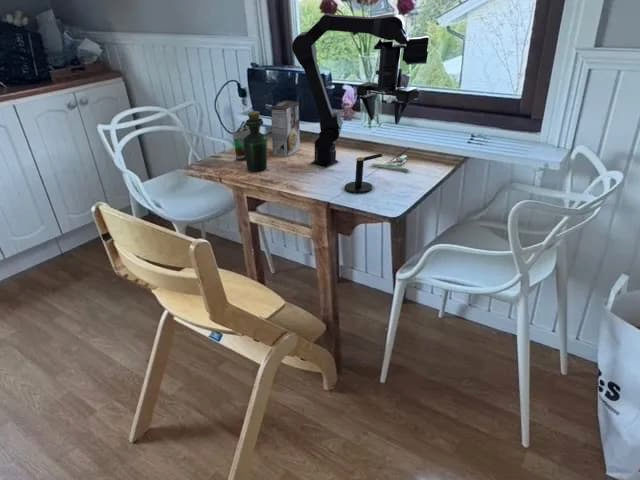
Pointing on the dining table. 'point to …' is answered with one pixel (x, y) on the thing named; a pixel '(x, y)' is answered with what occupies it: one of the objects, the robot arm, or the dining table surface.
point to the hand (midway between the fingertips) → (384, 121)
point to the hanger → (393, 165)
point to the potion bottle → (255, 144)
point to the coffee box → (285, 128)
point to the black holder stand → (360, 177)
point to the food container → (240, 142)
